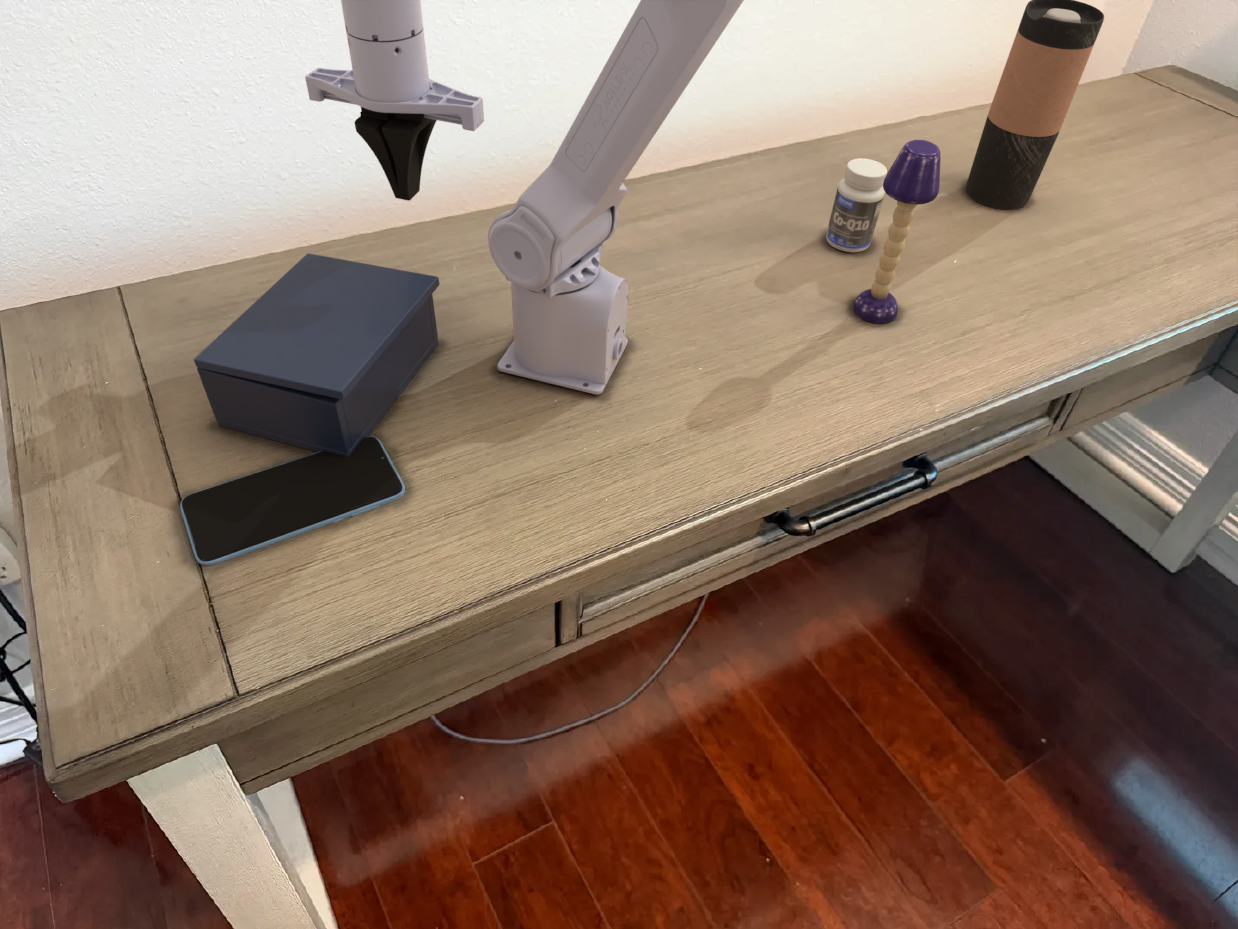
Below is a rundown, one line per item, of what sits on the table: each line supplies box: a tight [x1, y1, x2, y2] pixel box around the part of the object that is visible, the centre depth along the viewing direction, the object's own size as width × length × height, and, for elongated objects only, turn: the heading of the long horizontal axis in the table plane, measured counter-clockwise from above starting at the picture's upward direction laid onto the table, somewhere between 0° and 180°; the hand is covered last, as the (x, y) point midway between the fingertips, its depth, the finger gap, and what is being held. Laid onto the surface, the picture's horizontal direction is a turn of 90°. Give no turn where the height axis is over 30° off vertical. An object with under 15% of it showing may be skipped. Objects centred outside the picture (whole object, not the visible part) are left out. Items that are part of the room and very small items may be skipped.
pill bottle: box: [825, 157, 888, 253], centre depth 91 cm, size 5×5×8 cm
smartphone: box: [179, 435, 406, 566], centre depth 66 cm, size 7×1×15 cm
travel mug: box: [965, 0, 1105, 210], centre depth 96 cm, size 8×8×20 cm
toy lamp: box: [852, 139, 941, 324], centre depth 79 cm, size 5×5×17 cm
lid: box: [193, 252, 440, 400], centre depth 70 cm, size 12×16×1 cm
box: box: [196, 293, 439, 457], centre depth 73 cm, size 12×16×6 cm
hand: (407, 194), depth 77 cm, fingers closed
